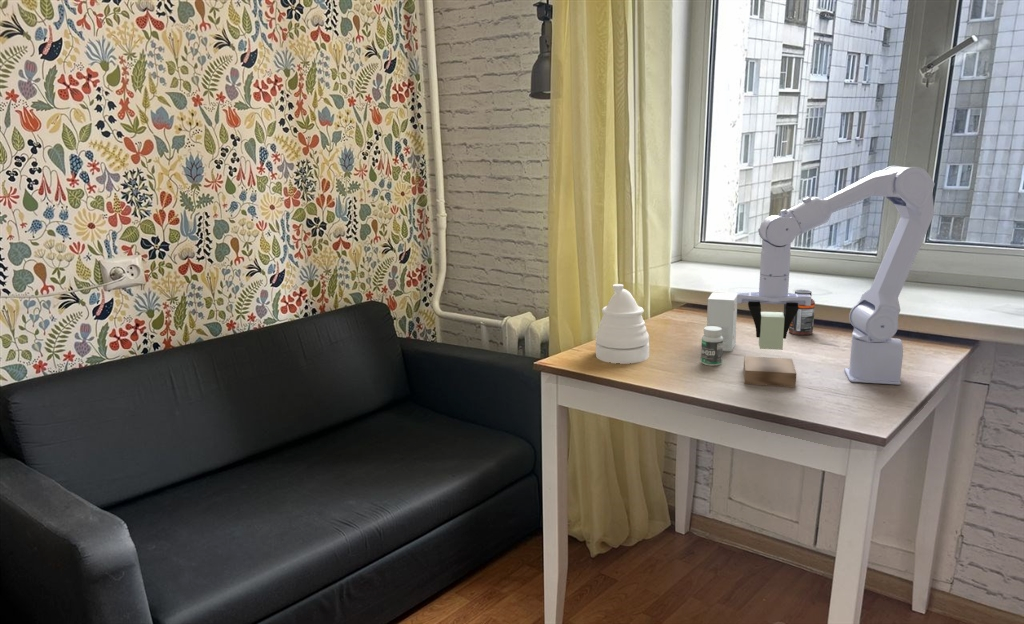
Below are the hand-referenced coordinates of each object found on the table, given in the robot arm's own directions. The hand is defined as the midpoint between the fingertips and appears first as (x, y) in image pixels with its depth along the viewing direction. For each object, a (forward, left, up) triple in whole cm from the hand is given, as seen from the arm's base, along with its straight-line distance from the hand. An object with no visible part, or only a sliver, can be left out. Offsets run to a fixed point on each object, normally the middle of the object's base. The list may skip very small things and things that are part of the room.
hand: (770, 336), depth 143 cm
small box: (+10, -22, -9) cm, 26 cm away
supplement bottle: (-10, -38, -9) cm, 40 cm away
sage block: (0, 0, -2) cm, 2 cm away
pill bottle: (+12, -8, -9) cm, 17 cm away
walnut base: (0, 0, -9) cm, 9 cm away
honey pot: (+33, -10, -10) cm, 36 cm away
